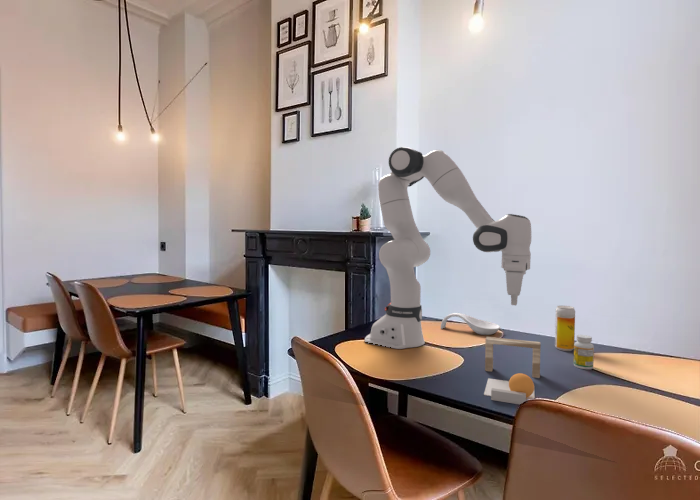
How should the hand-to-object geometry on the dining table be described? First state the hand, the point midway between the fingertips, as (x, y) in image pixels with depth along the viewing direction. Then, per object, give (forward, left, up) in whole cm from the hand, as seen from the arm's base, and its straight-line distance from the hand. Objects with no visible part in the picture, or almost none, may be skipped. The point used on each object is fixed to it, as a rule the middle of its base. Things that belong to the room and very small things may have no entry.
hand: (514, 304), depth 136 cm
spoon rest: (-18, +27, -18) cm, 37 cm away
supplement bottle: (+20, -3, -18) cm, 27 cm away
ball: (+3, -34, -14) cm, 37 cm away
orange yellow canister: (+16, +15, -18) cm, 28 cm away
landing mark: (0, -31, -17) cm, 36 cm away
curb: (0, -39, -17) cm, 42 cm away
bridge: (0, -17, -17) cm, 24 cm away
